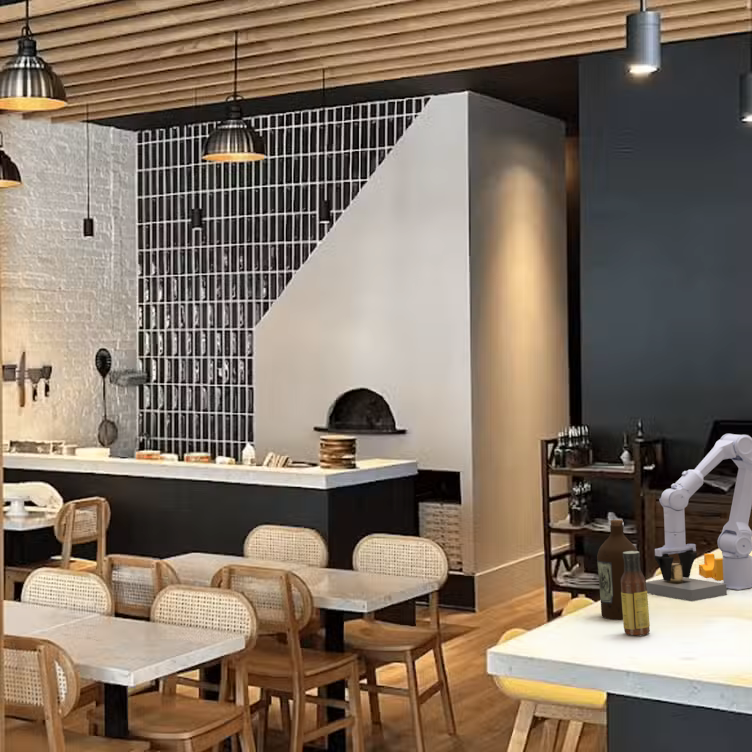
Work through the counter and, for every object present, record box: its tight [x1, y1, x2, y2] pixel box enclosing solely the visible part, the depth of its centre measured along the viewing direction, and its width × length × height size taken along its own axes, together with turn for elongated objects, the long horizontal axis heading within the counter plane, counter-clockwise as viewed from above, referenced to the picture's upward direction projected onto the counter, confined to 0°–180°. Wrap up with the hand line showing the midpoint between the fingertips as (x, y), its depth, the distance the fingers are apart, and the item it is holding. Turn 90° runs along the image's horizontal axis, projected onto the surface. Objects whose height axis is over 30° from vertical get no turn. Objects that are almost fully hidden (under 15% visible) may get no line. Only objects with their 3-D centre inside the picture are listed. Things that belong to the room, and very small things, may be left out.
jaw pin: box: [669, 562, 683, 584], centre depth 355 cm, size 4×4×8 cm
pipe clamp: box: [698, 553, 723, 582], centre depth 378 cm, size 12×4×6 cm, turn 3°
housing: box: [646, 577, 728, 602], centre depth 353 cm, size 14×18×3 cm
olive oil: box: [596, 519, 638, 621], centre depth 324 cm, size 11×11×25 cm
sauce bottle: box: [621, 550, 651, 637], centre depth 302 cm, size 7×6×20 cm
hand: (676, 578), depth 355 cm, fingers open, 7 cm apart
